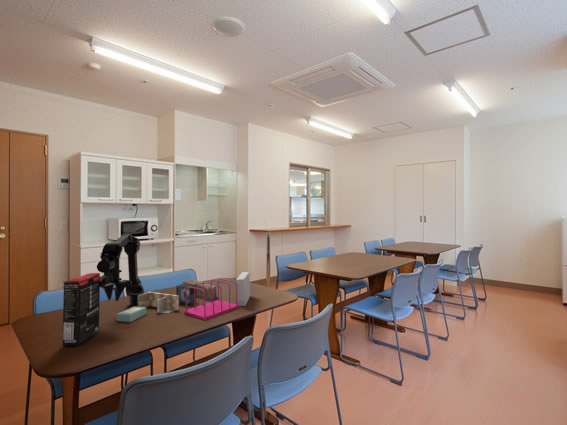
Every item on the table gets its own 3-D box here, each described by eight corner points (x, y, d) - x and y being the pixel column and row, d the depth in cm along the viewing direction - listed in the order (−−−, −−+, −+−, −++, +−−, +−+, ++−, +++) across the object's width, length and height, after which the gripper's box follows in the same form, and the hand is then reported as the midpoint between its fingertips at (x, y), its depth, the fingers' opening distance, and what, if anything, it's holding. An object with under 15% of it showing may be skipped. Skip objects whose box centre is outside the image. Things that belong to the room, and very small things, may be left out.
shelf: (137, 309, 173) (137, 295, 173) (149, 305, 180) (149, 291, 180) (167, 314, 164) (167, 299, 164) (178, 309, 172) (178, 295, 172)
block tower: (217, 299, 196) (192, 290, 215) (218, 286, 196) (192, 278, 215) (207, 301, 190) (182, 292, 209) (207, 288, 190) (182, 280, 209)
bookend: (157, 312, 167) (157, 299, 167) (166, 308, 174) (166, 296, 174) (167, 314, 165) (167, 301, 165) (176, 310, 171) (176, 297, 171)
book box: (116, 321, 155) (116, 313, 155) (133, 313, 166) (133, 306, 166) (130, 322, 153) (130, 314, 153) (146, 314, 165) (146, 307, 165)
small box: (175, 303, 184) (175, 285, 184) (182, 300, 190) (182, 283, 190) (189, 305, 180) (189, 287, 180) (196, 301, 186) (196, 284, 186)
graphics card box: (85, 331, 142) (85, 272, 142) (101, 330, 142) (100, 272, 142) (62, 347, 125) (61, 281, 125) (79, 346, 125) (79, 280, 125)
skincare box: (242, 296, 199) (241, 271, 199) (250, 296, 199) (250, 271, 199) (236, 306, 178) (235, 279, 178) (245, 306, 178) (245, 279, 178)
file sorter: (183, 314, 165) (183, 285, 165) (218, 302, 185) (218, 277, 185) (204, 320, 155) (204, 290, 155) (239, 308, 175) (239, 280, 175)
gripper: (83, 270, 145) (84, 302, 146) (111, 273, 138) (111, 307, 138) (105, 266, 156) (105, 296, 156) (132, 268, 149) (132, 300, 149)
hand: (113, 300), depth 149 cm, fingers open, 5 cm apart
